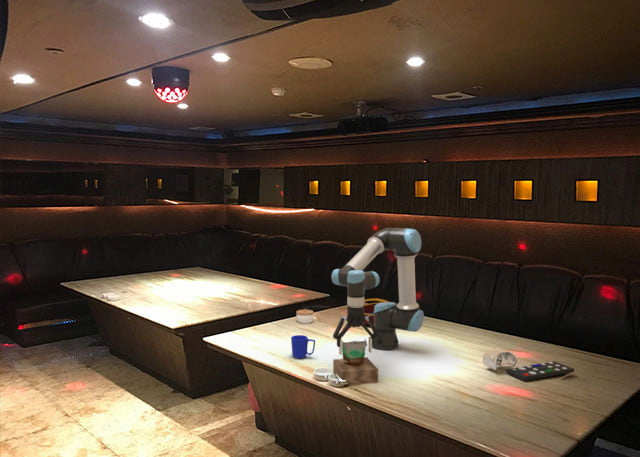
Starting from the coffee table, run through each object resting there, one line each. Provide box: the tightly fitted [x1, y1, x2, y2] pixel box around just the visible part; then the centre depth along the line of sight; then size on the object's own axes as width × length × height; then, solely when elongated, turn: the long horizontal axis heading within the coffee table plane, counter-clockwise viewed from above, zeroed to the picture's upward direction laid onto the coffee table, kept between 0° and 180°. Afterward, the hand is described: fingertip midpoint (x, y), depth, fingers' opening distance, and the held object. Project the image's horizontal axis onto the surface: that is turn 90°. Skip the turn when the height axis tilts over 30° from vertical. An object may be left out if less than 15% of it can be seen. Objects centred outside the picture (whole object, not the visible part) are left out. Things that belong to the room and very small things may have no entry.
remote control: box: [505, 361, 575, 382], centre depth 231 cm, size 11×30×2 cm, turn 113°
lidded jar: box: [296, 308, 314, 325], centre depth 312 cm, size 11×11×9 cm
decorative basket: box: [363, 298, 389, 325], centre depth 318 cm, size 34×29×15 cm
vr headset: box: [482, 343, 518, 372], centre depth 235 cm, size 14×9×11 cm, turn 116°
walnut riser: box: [332, 356, 379, 386], centre depth 221 cm, size 16×16×6 cm
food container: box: [342, 338, 368, 365], centre depth 221 cm, size 12×6×10 cm, turn 106°
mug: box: [290, 334, 316, 359], centre depth 248 cm, size 8×12×10 cm
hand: (355, 353), depth 221 cm, fingers open, 13 cm apart
